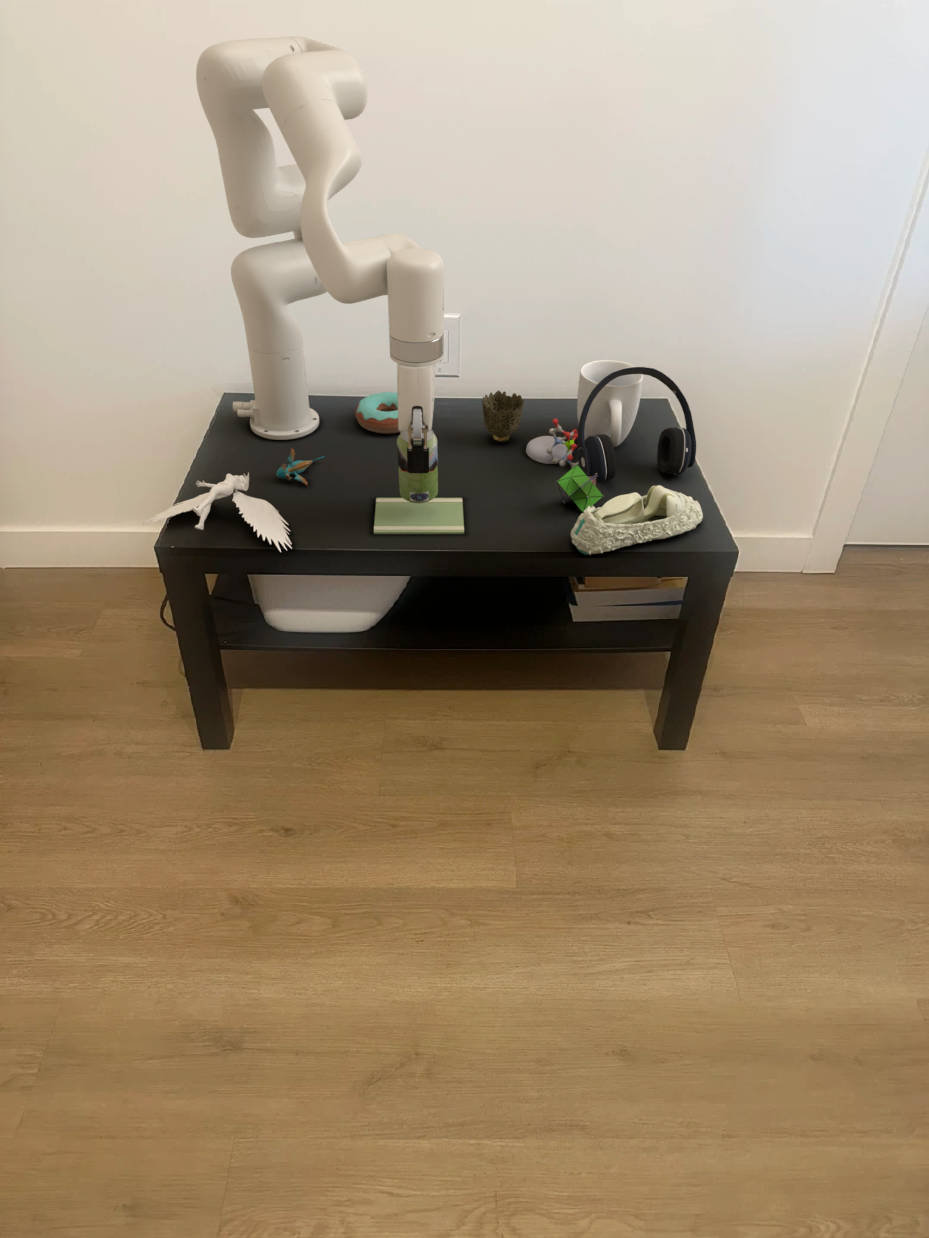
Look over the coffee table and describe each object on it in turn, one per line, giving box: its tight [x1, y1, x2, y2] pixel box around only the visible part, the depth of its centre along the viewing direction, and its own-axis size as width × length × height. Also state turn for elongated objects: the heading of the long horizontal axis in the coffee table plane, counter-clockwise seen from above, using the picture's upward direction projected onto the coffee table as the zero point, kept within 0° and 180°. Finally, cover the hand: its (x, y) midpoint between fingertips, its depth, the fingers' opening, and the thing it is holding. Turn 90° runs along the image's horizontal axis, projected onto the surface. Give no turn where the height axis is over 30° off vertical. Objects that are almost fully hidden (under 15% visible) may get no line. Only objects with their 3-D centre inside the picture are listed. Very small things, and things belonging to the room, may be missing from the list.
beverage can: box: [396, 424, 439, 504], centre depth 133 cm, size 6×7×12 cm
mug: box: [576, 359, 644, 448], centre depth 153 cm, size 15×11×13 cm
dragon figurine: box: [276, 447, 326, 486], centre depth 147 cm, size 7×7×8 cm
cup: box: [481, 390, 525, 445], centre depth 155 cm, size 8×7×8 cm
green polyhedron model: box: [556, 464, 605, 514], centre depth 139 cm, size 7×7×8 cm
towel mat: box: [373, 497, 465, 535], centre depth 138 cm, size 14×10×1 cm
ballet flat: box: [570, 484, 704, 556], centre depth 133 cm, size 9×24×8 cm, turn 120°
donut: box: [355, 391, 412, 435], centre depth 161 cm, size 12×12×4 cm
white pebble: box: [525, 435, 571, 465], centre depth 154 cm, size 8×8×2 cm
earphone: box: [576, 366, 697, 484], centre depth 146 cm, size 20×7×18 cm
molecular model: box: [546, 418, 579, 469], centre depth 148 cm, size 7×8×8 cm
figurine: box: [138, 472, 293, 553], centre depth 132 cm, size 12×25×14 cm
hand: (418, 459), depth 131 cm, fingers closed on beverage can, 6 cm apart
